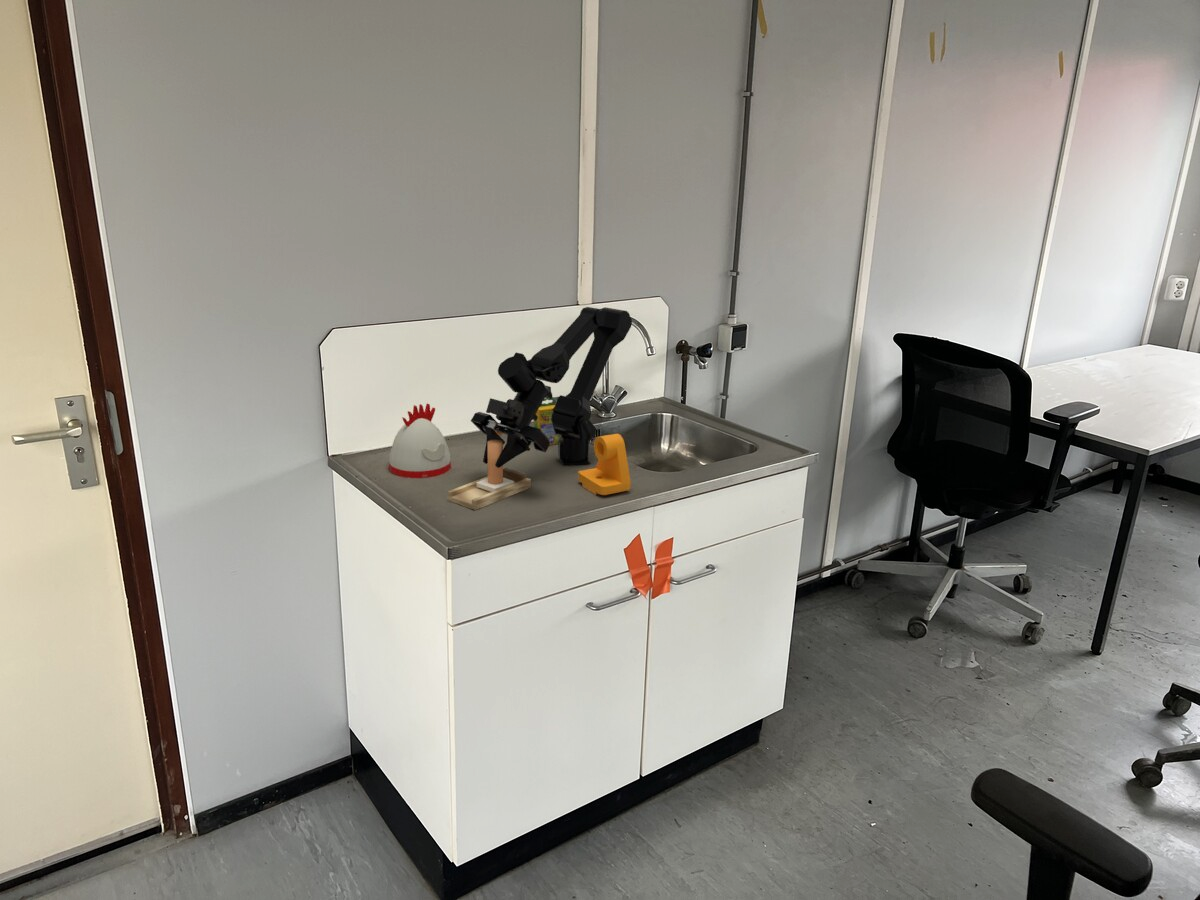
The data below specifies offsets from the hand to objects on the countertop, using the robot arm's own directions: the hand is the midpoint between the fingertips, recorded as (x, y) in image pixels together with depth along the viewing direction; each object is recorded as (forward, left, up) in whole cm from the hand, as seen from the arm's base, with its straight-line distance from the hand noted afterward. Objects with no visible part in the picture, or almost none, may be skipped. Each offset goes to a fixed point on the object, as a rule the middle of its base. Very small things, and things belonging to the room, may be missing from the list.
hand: (490, 464), depth 187 cm
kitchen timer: (+14, -18, -7) cm, 24 cm away
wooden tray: (0, 0, -7) cm, 7 cm away
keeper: (-1, -1, -5) cm, 5 cm away
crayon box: (-18, -31, -7) cm, 36 cm away
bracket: (-25, 0, -7) cm, 26 cm away
